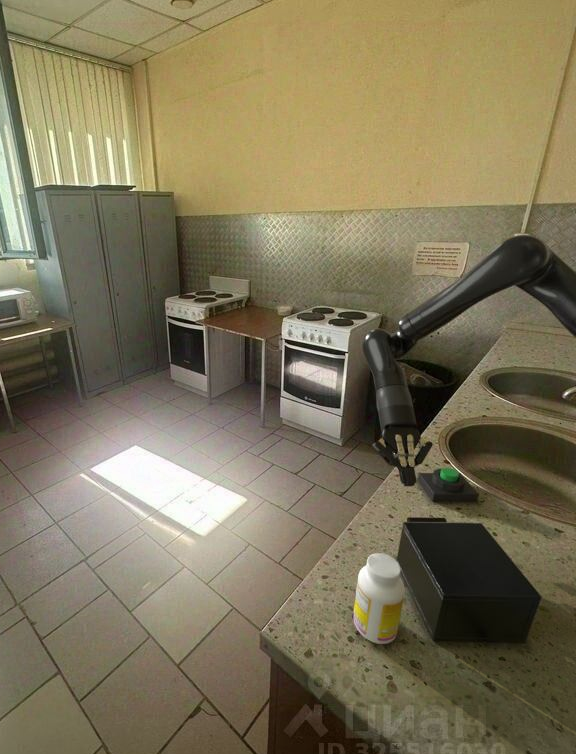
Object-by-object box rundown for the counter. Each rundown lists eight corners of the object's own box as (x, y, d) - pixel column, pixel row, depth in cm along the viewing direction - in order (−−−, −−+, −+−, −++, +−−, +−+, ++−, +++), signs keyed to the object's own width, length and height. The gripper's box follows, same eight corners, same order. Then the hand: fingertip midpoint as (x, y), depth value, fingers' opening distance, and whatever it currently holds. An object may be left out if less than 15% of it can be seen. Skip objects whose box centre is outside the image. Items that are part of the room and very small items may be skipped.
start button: (452, 473, 94) (453, 467, 94) (460, 482, 91) (462, 476, 90) (437, 473, 94) (438, 467, 94) (444, 482, 91) (445, 476, 90)
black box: (395, 563, 75) (403, 522, 71) (470, 564, 74) (481, 522, 71) (432, 641, 61) (443, 595, 57) (525, 643, 60) (542, 596, 57)
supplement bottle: (400, 619, 64) (412, 559, 60) (391, 654, 59) (404, 592, 55) (359, 599, 68) (367, 541, 63) (347, 631, 63) (355, 570, 58)
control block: (458, 480, 97) (461, 466, 96) (477, 502, 90) (480, 487, 88) (417, 480, 98) (419, 466, 96) (432, 501, 90) (435, 487, 89)
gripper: (371, 403, 88) (384, 483, 81) (431, 403, 87) (450, 483, 80) (361, 413, 95) (372, 488, 88) (417, 413, 94) (433, 488, 87)
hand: (409, 485), depth 84 cm, fingers closed
